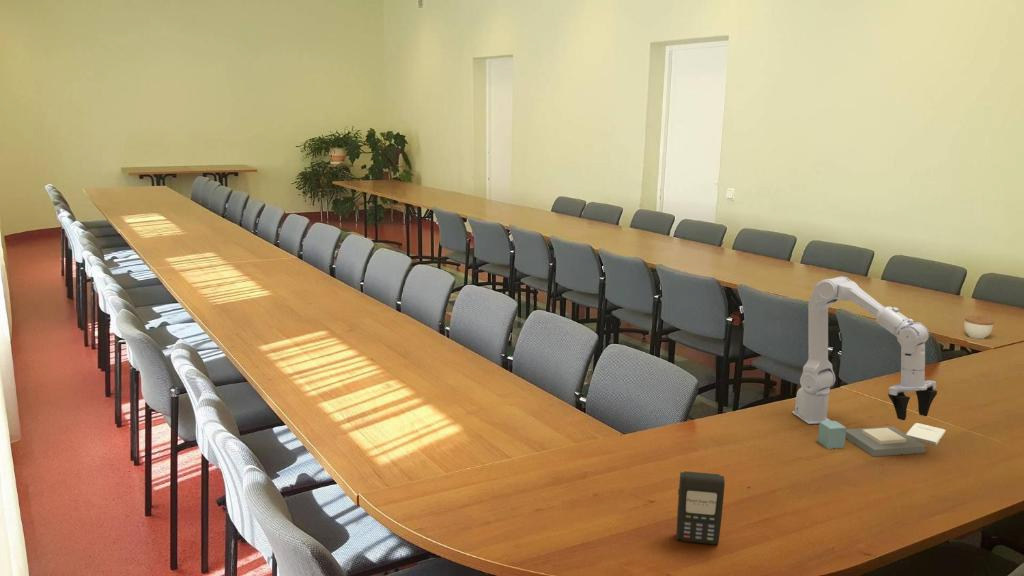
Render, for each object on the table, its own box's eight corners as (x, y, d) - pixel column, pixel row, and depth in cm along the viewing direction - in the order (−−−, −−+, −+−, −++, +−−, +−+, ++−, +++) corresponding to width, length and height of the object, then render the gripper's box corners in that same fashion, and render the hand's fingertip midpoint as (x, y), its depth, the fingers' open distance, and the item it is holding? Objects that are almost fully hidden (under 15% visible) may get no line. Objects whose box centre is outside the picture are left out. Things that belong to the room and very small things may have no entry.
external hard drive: (904, 439, 224) (914, 427, 233) (936, 447, 219) (945, 434, 228) (905, 434, 223) (915, 422, 233) (936, 442, 218) (946, 429, 228)
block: (817, 441, 219) (819, 421, 218) (833, 440, 220) (835, 420, 219) (827, 449, 215) (830, 428, 213) (843, 448, 216) (846, 427, 214)
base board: (842, 435, 224) (843, 426, 223) (891, 432, 227) (892, 423, 226) (873, 456, 210) (874, 446, 210) (925, 452, 213) (926, 442, 213)
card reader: (675, 542, 165) (680, 477, 162) (674, 533, 169) (679, 469, 166) (719, 547, 164) (725, 481, 161) (717, 537, 168) (723, 473, 164)
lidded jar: (965, 338, 329) (968, 317, 327) (959, 332, 339) (963, 311, 337) (994, 341, 326) (997, 319, 324) (987, 334, 336) (991, 313, 334)
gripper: (903, 374, 204) (903, 425, 206) (946, 368, 209) (945, 417, 210) (882, 369, 211) (882, 418, 212) (924, 363, 215) (923, 410, 217)
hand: (912, 417), depth 212 cm, fingers open, 7 cm apart
